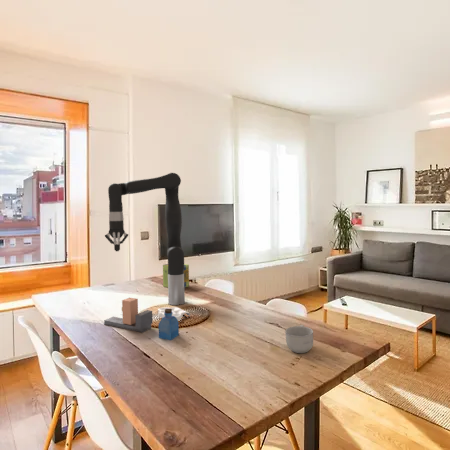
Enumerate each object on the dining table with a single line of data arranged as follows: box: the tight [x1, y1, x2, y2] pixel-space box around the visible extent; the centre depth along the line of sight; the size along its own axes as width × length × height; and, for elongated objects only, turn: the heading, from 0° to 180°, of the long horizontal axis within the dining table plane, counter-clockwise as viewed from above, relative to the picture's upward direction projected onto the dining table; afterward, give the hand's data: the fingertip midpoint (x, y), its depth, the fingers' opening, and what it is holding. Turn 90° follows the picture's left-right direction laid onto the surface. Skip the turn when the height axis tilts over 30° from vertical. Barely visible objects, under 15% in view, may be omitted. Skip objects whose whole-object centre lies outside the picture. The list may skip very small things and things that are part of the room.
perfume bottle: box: [158, 309, 180, 341], centre depth 151 cm, size 6×6×12 cm
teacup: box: [284, 324, 314, 354], centre depth 137 cm, size 14×11×8 cm
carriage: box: [121, 297, 139, 325], centre depth 163 cm, size 6×5×11 cm
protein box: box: [162, 263, 190, 289], centre depth 240 cm, size 10×15×16 cm
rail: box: [103, 309, 153, 333], centre depth 164 cm, size 24×8×8 cm, turn 62°
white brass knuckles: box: [156, 306, 191, 322], centre depth 177 cm, size 3×18×15 cm
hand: (117, 251), depth 191 cm, fingers closed
